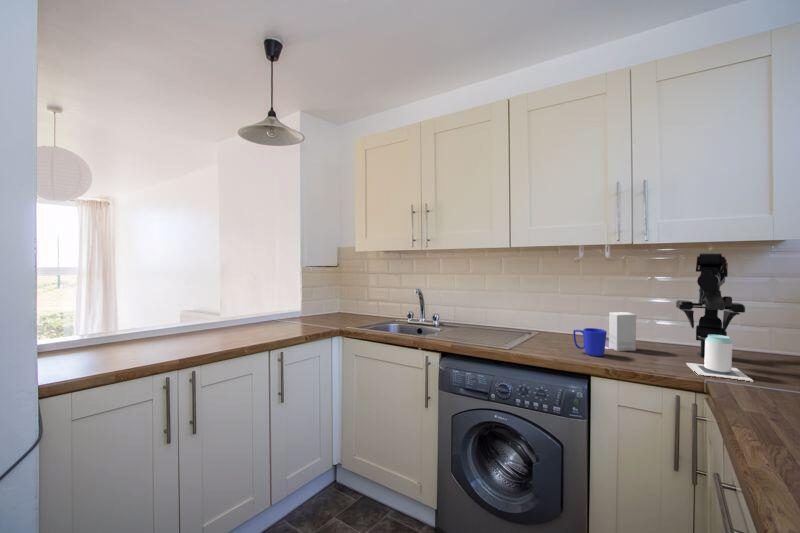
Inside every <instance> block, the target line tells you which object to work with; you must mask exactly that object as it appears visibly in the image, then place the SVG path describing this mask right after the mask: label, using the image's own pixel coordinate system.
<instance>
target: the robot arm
mask: <svg viewBox="0 0 800 533" xmlns="http://www.w3.org/2000/svg"><path fill="white" fill-rule="evenodd" d="M728 271H729V264H728V262H727V259H726V257H725V256H723V254H722V253H721V252H719V253H718V252H717V253H716V252H715V253H714V252H713V253H708V252H707V253H706V252H705V253H704V252H703V253H702V252H701V253H699V255H698V256H696V266H695V272H699V273H700V274H699V276H698V277H697V284H698V286H699V288H698V292H699V297H698V302H693V301H691V300H686V299H685V300H684V299H683V300H682V299H681V300H679V299H677V301H676V304H675V308H677V309H679V310H680V311H682V312H683V313H685V315H686V317H687V319H688V323H689V325H690V327H691V329H695V341H700V350H699V351H700V352H699V351H698V352H697V353H696V354H697V355H698V356H700V357H701V358H704V357H705V339H706V338H707V337H708V335H710V334H713V335H723V336H727V335H728V334H727V333H728V332H727V329H728V326H729V324H730V323H731V321H732V320H733V318H734V317H736V316H738V315H741V313H746V307H745V305H744V304H743V303H739V302H733V298H732V296H727V295H724V296H722V291H721V287H722V286H723V285H724V284H725V283H726V278H728V277H729V276H728V274H729V272H728ZM693 309H704V315H703V316H700V318H699V320H698V324H697V325H696V327H695V320H694V312H695V311H694V310H693ZM719 311H723V319H722V318H720V317H719ZM721 319H722V320H721ZM727 337H728V336H727Z"/></svg>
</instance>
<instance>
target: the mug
mask: <svg viewBox="0 0 800 533" xmlns="http://www.w3.org/2000/svg"><path fill="white" fill-rule="evenodd" d="M576 332H578V333H581V334H582V336H583V337H582V338H583V346H582V347H581V346H579V344H578V343H577V340H576V339H577V338H576ZM607 332H608V331H607V330H605V329H602V328H595V327H592V328H591V327H587V328H584V329H574V330H573V332H572V333H573V334H572V335H573V342H574V345H575V347H576V348H577V349H580V350H584V353H585V354H586V355H588V356H592V357H603V355H604V354H605V351H606V350H605V349H606V348H605V342H606V340H607Z"/></svg>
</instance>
